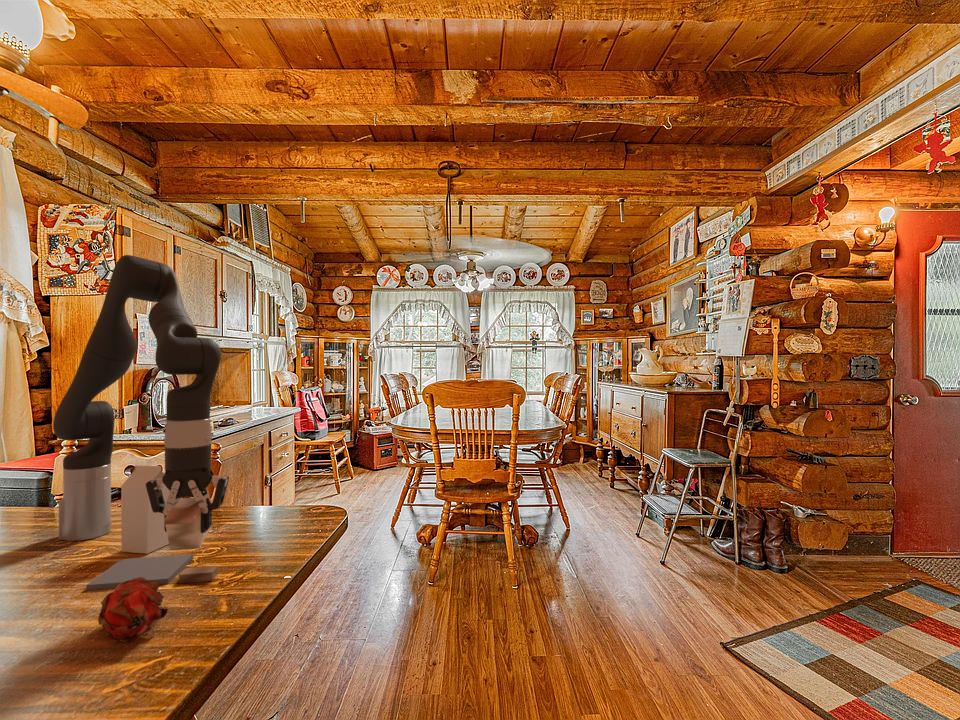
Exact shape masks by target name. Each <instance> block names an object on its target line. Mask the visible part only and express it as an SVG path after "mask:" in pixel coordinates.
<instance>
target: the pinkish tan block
mask: <svg viewBox="0 0 960 720" xmlns="http://www.w3.org/2000/svg"><path fill="white" fill-rule="evenodd" d="M201 513H202V512H201V509H200V507H199V505H198V503H196V501H195V498H194V497H183V498H181V499H180V500H179V501H178V502H176V503H175V504H174V506H173V508H172V509H171V510H170V511H169V513H168V514H167V516H166V517H165V519H164V520H165V526H166V531H167V536H168V541H169V544H168V546H169V550H170V551H179V550H193V549H195V550H196V549H200V548H201V547H202V544H203V543H204V541H205V538H206V537H207V535H208V533H209V531H210V530H211V527H212V526H211V527H210V528H209V529H208V530H207V531H206V532H205V533H201Z"/></svg>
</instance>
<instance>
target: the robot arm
mask: <svg viewBox="0 0 960 720" xmlns="http://www.w3.org/2000/svg"><path fill="white" fill-rule="evenodd" d="M110 276H111V277H110V280H109V283H108V287H107V291H106V294H105V297H104V300H103V303H102V307H101V311H100V313H99V316H98V318H97V321H96V322H95V325H94V327H93V329H92V331H91V334H90V337H89V338H88V340H87V343H86V345H85V348H84V350H83V354H82V356H81V359H80V362H79V364H78V367H77V370H76V372H75V375H74V377H73V379H72V382H71V384H70V385H69V387H68V389H67V390H66V392H65V394H64V395H63V398H62V400H61V402H60V403H59V405H58V408H57V410H56V412H55V415H54V418H53V424H52V425H53V432H54V434H55V436H56V437H57V438H58V439H60V440H62V441H78V440H86V439H88V442H87V443H86V444H85V445H84V446H83V447H81V448H79V449H77V450H75V451H73V452H71V453H70V454H67V455H66V456H64V458H63V461H62V466H63V467H62V480H63V481H62V482H63V483H62V484H63V485H62V492H63V493H62V494H63V495H62V497H63V498H62V499H59V501H58V540H61V541H62V540H64V541H69V542H75V541H84V540H90V539H95V538H98V537H101V536H105V535H106V534H108V533H110V532H111V531H112V456H113V451H114V449H113V447H114V432H115V430H114V429H115V413H114V408H113V406H112V405H111V404H110V402H108V401H105V400H94V399H95V398H96V397H97V396H98V395H99V394H100V393H102V392H103V391H104V390H106V389H108V388H109V387H110V386H112V385H113V384H114V383H116V382H117V381H119V380H120V379H121V378H122V377H123V376H124V375H125V374H126V373H127V372H128V370H130V369H129V368H130V367H131V365H132V363H133V360H134V358H135V356H136V353H137V350H138V343H137V339H136V335H135V334H134V332H133V329H132V327H131V325H130V323H129V321H128V318H127V314H126V310H125V308H126V303H127V300H129V299H136V300H140V301H145V302H150V303H155V304H154V305H153V306H152V308H151V309H150V311H149V314H148V324H149V327H150V329H151V331H152V333H153V334H154V337H155V339H156V340H155V341H156V350H155V354H154V355H155V365H156V366H157V369H159V370H160V372H162V373H165V374H166V375H171V376H177V375H178V376H181V375H195V378H194V379H193V381H192V382H191V383H190V384H188V385H185V386H184V385H183V386H179V387H175V388H173V389H170V390H169V391H168V392H167V394H166V423H165V430H164V439H163V443H164V473H165V474H164V476H163V478H159V479H157V478H155V479H152V480H150V481H148V482H147V483H146V489H147V492H148V496H149V500H150V504H151V507H152V511H153V512H154V513H157V512H159V513H162V514H164V519H165V517H166V516H167V514H168V513H169V511H170V510H171V509H172V508H173V506H174V504H175V503H176V502H178V501H179V500H180V499H181V498H195V501H196V503H198V505H199V507H200V509H201V512H202V513H201V533H205V532H206V531H207V530H208V529H209V528H210V527H212V524H213V511H214V510H217V509H218V508H220V507H221V506H222V505H223V503H224V500H225V495H226V492H227V488H228V485H229V480H230V477H229V475H224V476H219V475H216V474H215V475H214V472H213V470H212V424H211V396H212V390H213V387H214V383H215V378H216V376H217V374H218V370H219V368H220V363H221V359H222V353H221V348H220V346H219V345H218V343H217V342H216V341H215V340H214V339H212V338H208V337H198V330H197V328H196V326H195V324H194V323H193V321H192V319H191V318H190V316H189V314H188V312H187V310H186V309H185V305H184V303H183V298H182V293H181V290H180V286H179V281H178V278H177V275H176V273H175V271H174V269H173V268H172V267H170V266H169V265H168V264H165V263H163V262H159V261H154V260H151V259H148V258H143V257H139V256H137V255H130V254H124V255H123V256H120V258H119V259H118V260H117V262H116V264H115V265H114V268H113V270H112V273H111V275H110ZM211 482H212V483H213V487H214V488H215V491H214V495H213V499H212V501H211V497H210V492H209V490H208V487H209V485H210V484H211ZM163 483H164V484H165V486H166V487H167V488H168V489H169V490H170V493H169V496H168V498H167V501H166V504H165V501H164V498H163V494H162V490H161V489H162V488H163ZM210 529H211V528H210ZM164 530H165V532H167V531H166V526H165V520H164Z"/></svg>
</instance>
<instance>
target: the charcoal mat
mask: <svg viewBox="0 0 960 720" xmlns="http://www.w3.org/2000/svg"><path fill="white" fill-rule="evenodd" d="M193 560H194V553H189V554H188V553H185V554H173V555H172V554H171V555H161V556H147V557H133V558H131V557H130V558H121V559H120V560H118V561H117V562H115V563H114V564H113V565H112V566H110V567H108V568H107V569H106V570H104V572H103V573H101V574H99V575H98V576H96V577H95V578H94V579H93V580H91V581H90V582H88V583H87V584H86V585H85V587H86V589H85V590H86V591H94V590H96V591H97V590H107V589H115V588H116V587H117V586H118V585H119V584H120V583H122V582H125V581H128V580H133V579H135V578H138V577H143V578H145V579H146V580H147V581H157V582H158V583H160V585H167V584H170V582H172V581H173V580H174V578H175V577H176V576H178V575H179V574H180V573H181V572H182V571H183V570H184V569H185V568H186V567H187V565H189V564H190V562H192V561H193Z"/></svg>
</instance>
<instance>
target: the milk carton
mask: <svg viewBox="0 0 960 720" xmlns="http://www.w3.org/2000/svg"><path fill="white" fill-rule="evenodd" d="M164 474H165V472H163V471H162V466H161V465H144V464H140V465H139V464H135V465H134V470H133V471H132V473H131V474H130V475H129V476H128V478H126V479H125V481H124V482H123V484H121V486H120V487H121V488H120V489H121V491H120V492H121V493H120V495H121V496H120V497H121V500H120V501H121V503H120V504H121V507H120V508H121V518H120V519H121V523H120V524H121V526H120V527H121V531H120V532H121V537H120V538H121V540H120V541H121V552H124V553H136V554H145V555H146V554H150V553H152V552H155V551H156V550H159V549H160V548H162V547H165V546H167V545H168V546H169V541H168V536H167V532H165V530H164V514H162V513H159V512H157V513H154V512H153V511H152V507H151V504H150V500H149V496H148V492H147V489H146V483H147V482H148V481H150V480H152V479H155V478H157V479H159V478H163V476H164ZM161 490H162V494H163V498H164V501H165V504H166V501H167V498H168V496H169V493H170V490H169V489H168V488H167V487H166V486H165V484H164V483H163V488H162V489H161Z"/></svg>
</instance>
